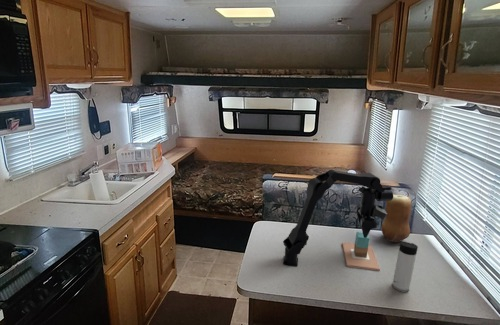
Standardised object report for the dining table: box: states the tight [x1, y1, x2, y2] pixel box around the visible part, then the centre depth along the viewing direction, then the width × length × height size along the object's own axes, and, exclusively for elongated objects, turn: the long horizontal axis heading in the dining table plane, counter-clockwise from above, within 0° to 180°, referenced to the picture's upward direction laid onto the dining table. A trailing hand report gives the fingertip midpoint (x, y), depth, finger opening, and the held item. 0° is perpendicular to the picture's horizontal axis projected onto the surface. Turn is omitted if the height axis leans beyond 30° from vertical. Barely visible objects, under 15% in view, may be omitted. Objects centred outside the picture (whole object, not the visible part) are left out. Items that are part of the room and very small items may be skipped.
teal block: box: [354, 231, 370, 248], centre depth 147 cm, size 5×5×5 cm
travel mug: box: [391, 241, 419, 293], centre depth 126 cm, size 6×7×20 cm
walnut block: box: [354, 241, 368, 258], centre depth 149 cm, size 5×5×5 cm
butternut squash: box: [381, 194, 412, 243], centre depth 162 cm, size 14×13×25 cm
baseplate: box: [341, 241, 381, 271], centre depth 150 cm, size 20×14×1 cm
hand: (363, 232), depth 146 cm, fingers open, 9 cm apart
